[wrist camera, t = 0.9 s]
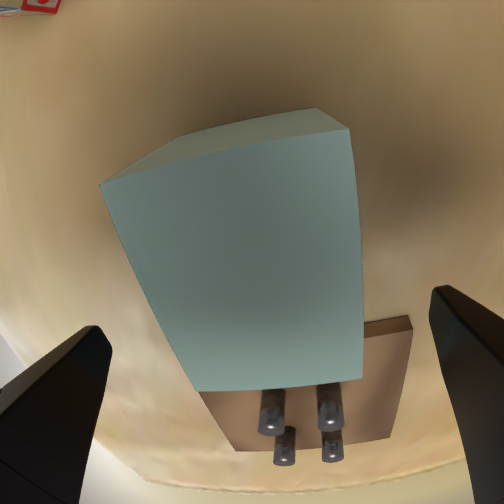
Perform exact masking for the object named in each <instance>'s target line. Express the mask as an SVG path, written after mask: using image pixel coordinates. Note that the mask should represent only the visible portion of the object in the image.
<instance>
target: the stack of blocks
mask: <svg viewBox="0 0 504 504" xmlns="http://www.w3.org/2000/svg"><path fill="white" fill-rule="evenodd" d="M60 1H61V0H0V17H5V16H27V15H55V14H56V13H57V10H58V7H59V4H60Z"/></svg>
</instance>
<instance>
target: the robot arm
mask: <svg viewBox="0 0 504 504" xmlns="http://www.w3.org/2000/svg"><path fill="white" fill-rule="evenodd" d="M429 323H430V326H431V330H432V334H433V338H434V342H435V346H436V350H437V354H438V358H439V363H440V367H441V371H442V375H443V378H444V382H445V385H446V388H447V391H448V394H449V397H450V400H451V404H452V407H453V410H454V414H455V417H456V421H457V424H458V428H459V432H460V435H461V439H462V443H463V447H464V451H465V456H466V460H467V464H468V469H469V474H470V479H471V483H472V489H473V495H474V501H475V504H504V319H503V318H501V317H500V316H498V315H497V314H495V313H494V312H492V311H490V310H489V309H487V308H486V307H484V306H483V305H481V304H479V303H478V302H476V301H475V300H473V299H471V298H470V297H468V296H467V295H465V294H463V293H462V292H460V291H458V290H457V289H455V288H453V287H452V286H450V285H443V286H438V287H435V288H434V289H433V290H432V295H431V302H430V309H429ZM111 357H112V346H111V344H110V342H109V341H108V339H107V338H106V336H105V334H104V333H103V331H102V330H101V328H100V327H99V326H96V325H90V326H85V327H84V328H82V329H81V330H80V331H78V332H77V333H75V334H74V335H73V336H71V337H70V338H68V339H67V340H66V341H64V342H63V343H61V344H60V345H59V346H57V347H56V348H55V349H53V350H52V351H50V352H49V353H48V354H46V355H45V356H44V357H42V358H41V359H40V360H38V361H37V362H36V363H34V364H33V365H32V366H30V367H29V368H27V369H26V370H25V371H23V372H22V373H21V374H19V375H18V376H17V377H15V378H14V379H13V380H12V381H10V382H9V383H8V384H6V385H5V386H4V387H3V388H1V389H0V504H79V499H80V494H81V488H82V483H83V479H84V474H85V469H86V464H87V460H88V455H89V451H90V447H91V443H92V439H93V435H94V431H95V427H96V423H97V419H98V415H99V412H100V408H101V404H102V401H103V397H104V392H105V387H106V382H107V377H108V372H109V367H110V362H111Z"/></svg>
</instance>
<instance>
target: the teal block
mask: <svg viewBox="0 0 504 504" xmlns="http://www.w3.org/2000/svg"><path fill="white" fill-rule="evenodd" d="M99 186H100V189H101V192H102V195H103V197H104V200H105V203H106V205H107V208H108V210H109V213H110V216H111V218H112V221H113V223H114V226H115V228H116V231H117V233H118V236H119V238H120V240H121V243H122V245H123V248H124V250H125V252H126V255H127V257H128V259H129V261H130V264H131V266H132V268H133V270H134V273H135V275H136V277H137V279H138V281H139V284H140V286H141V288H142V290H143V292H144V294H145V296H146V298H147V301H148V303H149V305H150V307H151V309H152V311H153V313H154V315H155V317H156V319H157V321H158V323H159V325H160V327H161V329H162V331H163V332H164V334H165V336H166V338H167V340H168V342H169V344H170V346H171V348H172V349H173V351H174V353H175V355H176V357H177V359H178V360H179V362H180V364H181V366H182V368H183V369H184V371H185V373H186V375H187V376H188V378H189V380H190V382H191V383H192V385H193V387H194V388H195V390H196V391H243V390H262V389H277V388H289V387H300V386H309V385H318V384H326V383H334V382H341V381H348V380H355V379H361V378H362V375H363V344H364V295H363V264H362V245H361V230H360V217H359V205H358V195H357V185H356V176H355V168H354V160H353V152H352V145H351V138H350V131H349V128H347V127H346V126H344V125H343V124H341V123H340V122H338V121H337V120H335V119H334V118H332V117H330V116H329V115H327V114H326V113H324V112H323V111H321V110H320V109H318V108H309V109H303V110H296V111H290V112H284V113H279V114H273V115H268V116H263V117H258V118H253V119H248V120H243V121H239V122H234V123H230V124H225V125H221V126H217V127H213V128H209V129H205V130H201V131H197V132H193V133H189V134H186V135H182V136H179V137H177V138H175V139H174V140H172V141H170V142H168V143H166V144H165V145H163V146H161V147H159V148H158V149H156V150H154V151H152V152H151V153H149V154H147V155H146V156H144V157H142V158H141V159H139V160H137V161H136V162H134V163H132V164H131V165H129V166H127V167H126V168H124V169H123V170H121V171H119V172H118V173H116V174H115V175H113V176H112V177H110V178H108V179H107V180H105V181H104V182H102V183H101V184H99Z"/></svg>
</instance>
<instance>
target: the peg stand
mask: <svg viewBox="0 0 504 504" xmlns="http://www.w3.org/2000/svg"><path fill="white" fill-rule="evenodd" d="M412 335H413V327H412V325H411V322H410V320H409V317H408V316H404V317H398V318H393V319H387V320H382V321H376V322H370V323H364V344H363V375H362V378H361V379H355V380H348V381H341V382H334V383H326V384H318V385H309V386H300V387H289V388H277V389H262V390H243V391H198V393H199V394H200V396H201V398H202V399H203V401H204V403H205V404H206V406H207V408H208V409H209V411H210V412H211V414H212V416H213V417H214V419H215V420H216V422H217V424H218V425H219V427H220V428H221V430H222V431H223V433H224V434H225V436H226V437H227V439H228V440H229V442H230V443H231V445H232V446H233V448H234V449H235V451H274V460H273V463H274V464H275V465H278V466H291V465H293V464H295V450H302V449H314V448H322V461H323V462H327V463H333V462H338V461H341V460H342V459H343V458H344V452H343V445H349V444H356V443H362V442H368V441H374V440H380V439H385V438H390V435H391V431H392V428H393V424H394V421H395V417H396V413H397V409H398V405H399V401H400V397H401V393H402V388H403V384H404V379H405V374H406V369H407V364H408V359H409V353H410V348H411V342H412Z"/></svg>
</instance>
